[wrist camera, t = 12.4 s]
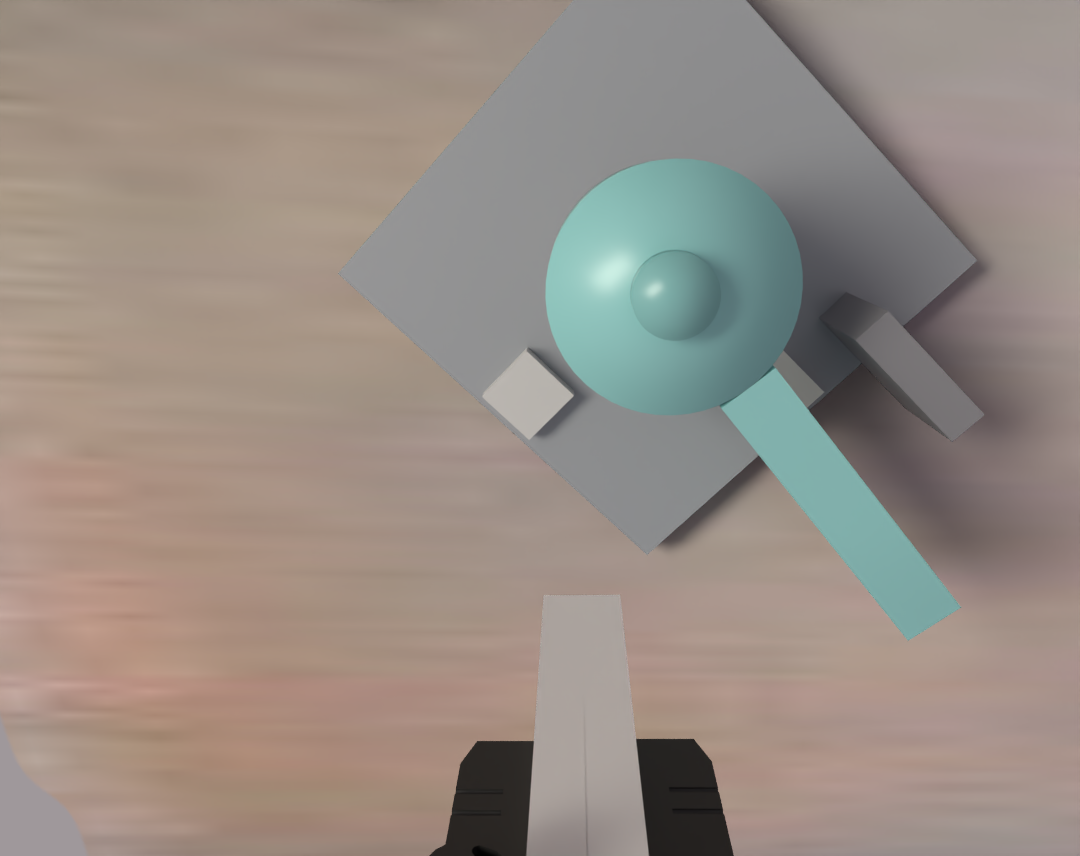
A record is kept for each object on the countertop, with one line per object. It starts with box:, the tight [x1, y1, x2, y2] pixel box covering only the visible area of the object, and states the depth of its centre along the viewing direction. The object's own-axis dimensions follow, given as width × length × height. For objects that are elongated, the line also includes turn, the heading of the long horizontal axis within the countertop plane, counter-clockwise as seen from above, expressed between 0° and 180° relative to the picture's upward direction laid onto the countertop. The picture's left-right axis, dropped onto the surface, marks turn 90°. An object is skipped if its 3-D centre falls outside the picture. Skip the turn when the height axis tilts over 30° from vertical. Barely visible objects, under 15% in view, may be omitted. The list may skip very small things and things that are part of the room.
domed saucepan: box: [545, 159, 961, 640], centre depth 32 cm, size 22×9×7 cm, turn 40°
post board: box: [338, 0, 985, 554], centre depth 35 cm, size 20×23×6 cm
